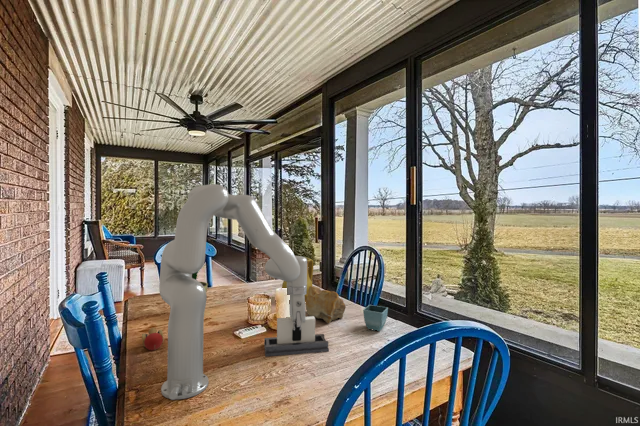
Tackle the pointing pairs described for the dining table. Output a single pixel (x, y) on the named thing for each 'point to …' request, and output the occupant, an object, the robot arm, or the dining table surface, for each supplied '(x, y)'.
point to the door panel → (287, 326)
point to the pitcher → (309, 276)
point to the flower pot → (375, 317)
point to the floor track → (295, 346)
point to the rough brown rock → (324, 304)
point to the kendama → (152, 339)
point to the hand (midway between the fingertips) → (296, 337)
